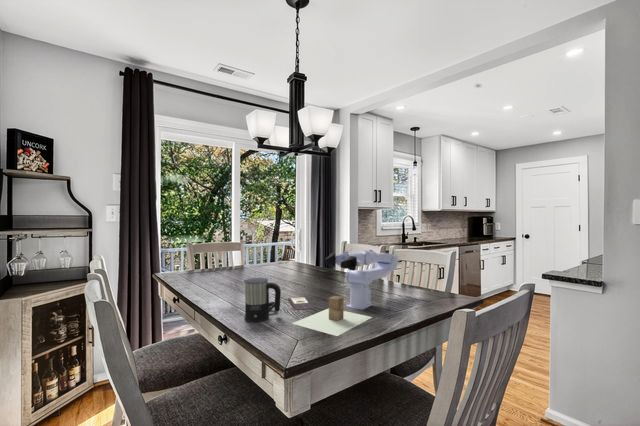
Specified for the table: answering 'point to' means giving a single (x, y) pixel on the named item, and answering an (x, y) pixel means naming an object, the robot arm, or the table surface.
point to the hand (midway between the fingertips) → (333, 263)
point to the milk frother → (260, 299)
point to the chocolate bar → (301, 303)
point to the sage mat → (332, 322)
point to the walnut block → (336, 308)
